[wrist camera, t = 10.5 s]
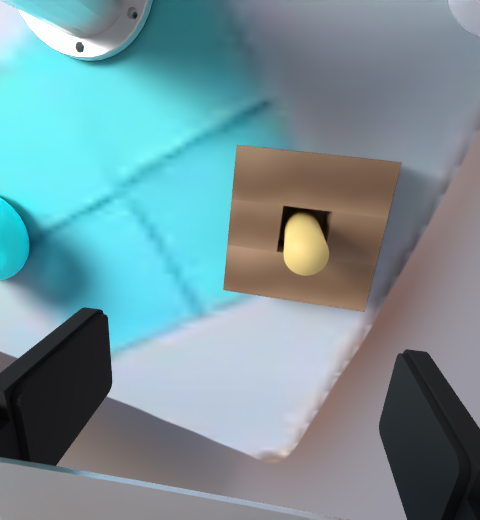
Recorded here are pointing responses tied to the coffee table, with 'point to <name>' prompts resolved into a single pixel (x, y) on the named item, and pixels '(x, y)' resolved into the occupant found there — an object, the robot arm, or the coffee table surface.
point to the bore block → (327, 213)
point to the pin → (304, 243)
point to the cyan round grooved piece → (12, 241)
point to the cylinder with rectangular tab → (467, 14)
